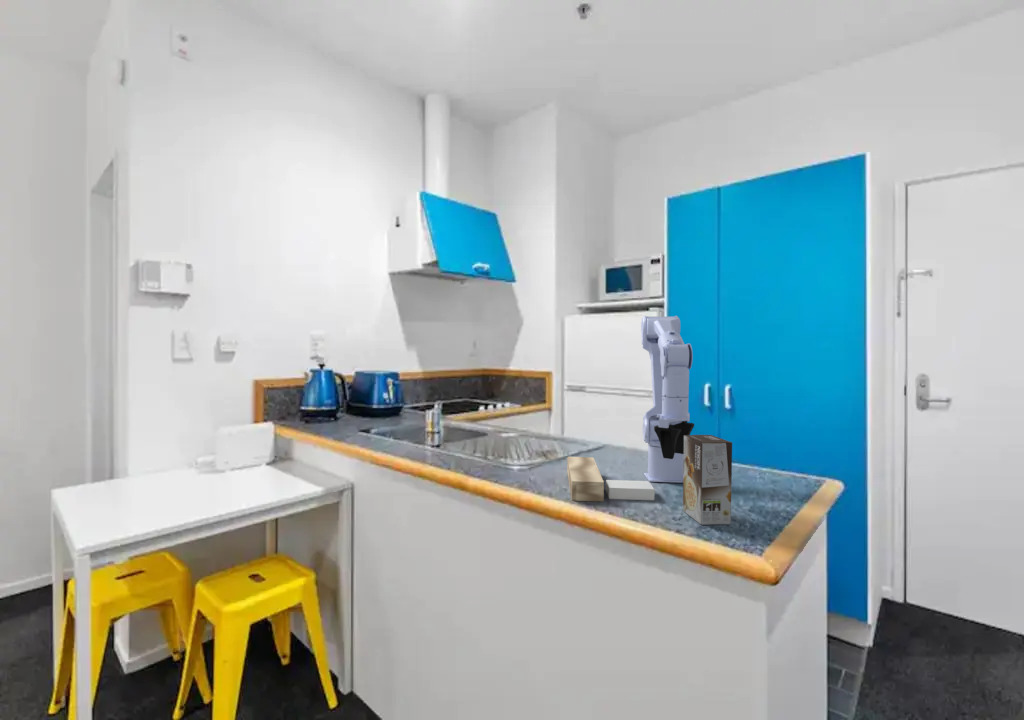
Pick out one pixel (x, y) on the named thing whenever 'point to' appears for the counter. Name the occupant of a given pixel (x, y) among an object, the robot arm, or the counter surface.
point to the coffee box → (707, 479)
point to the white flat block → (629, 490)
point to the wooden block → (584, 479)
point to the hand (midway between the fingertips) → (674, 455)
